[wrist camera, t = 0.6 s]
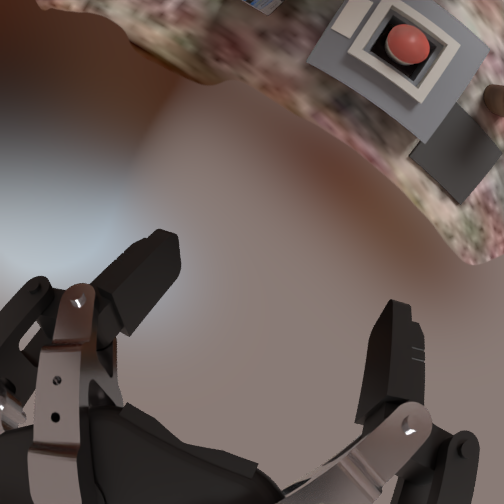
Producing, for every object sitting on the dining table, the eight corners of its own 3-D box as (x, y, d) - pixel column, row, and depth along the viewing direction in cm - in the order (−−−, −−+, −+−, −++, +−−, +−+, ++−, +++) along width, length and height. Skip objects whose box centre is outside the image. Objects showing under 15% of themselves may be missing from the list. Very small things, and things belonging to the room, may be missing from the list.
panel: (369, -25, 16) (369, -43, 12) (476, 51, 16) (496, 48, 12) (312, 64, 25) (302, 60, 21) (417, 136, 25) (428, 147, 21)
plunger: (394, 25, 18) (400, 16, 14) (425, 47, 18) (436, 42, 14) (377, 51, 20) (380, 45, 17) (408, 73, 20) (417, 71, 17)
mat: (450, 98, 21) (452, 98, 21) (500, 152, 21) (502, 153, 21) (408, 155, 27) (409, 156, 27) (459, 203, 27) (460, 204, 27)
